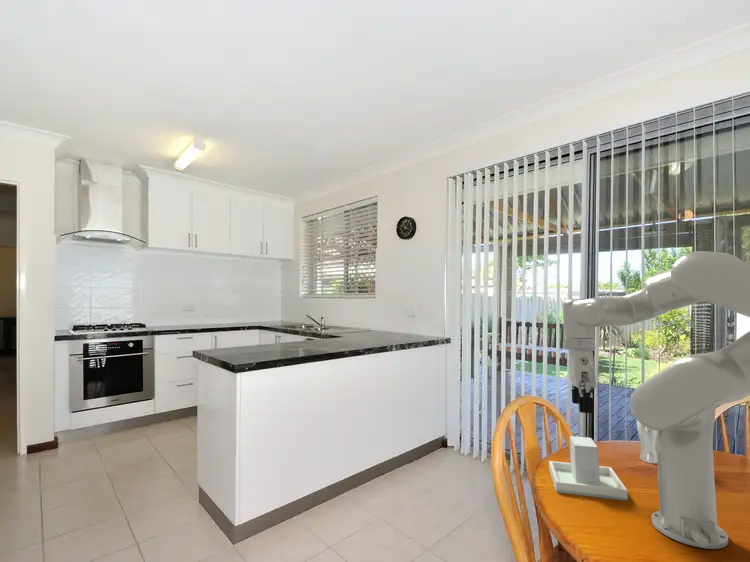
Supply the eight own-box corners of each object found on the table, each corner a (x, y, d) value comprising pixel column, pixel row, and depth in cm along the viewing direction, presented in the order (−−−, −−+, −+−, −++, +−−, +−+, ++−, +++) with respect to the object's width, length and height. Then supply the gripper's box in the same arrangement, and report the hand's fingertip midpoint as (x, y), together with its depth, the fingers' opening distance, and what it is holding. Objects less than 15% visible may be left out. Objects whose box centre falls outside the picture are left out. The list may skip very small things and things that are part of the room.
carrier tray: (627, 500, 95) (627, 490, 95) (556, 492, 99) (555, 482, 100) (611, 476, 108) (611, 467, 108) (549, 469, 113) (548, 460, 113)
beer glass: (671, 464, 115) (669, 413, 116) (648, 465, 115) (645, 413, 116) (655, 455, 122) (652, 407, 123) (633, 455, 122) (630, 407, 123)
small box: (600, 489, 99) (598, 447, 100) (576, 486, 101) (574, 445, 102) (593, 476, 107) (591, 437, 108) (570, 473, 109) (569, 435, 109)
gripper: (603, 347, 97) (606, 417, 96) (587, 341, 113) (590, 401, 112) (570, 347, 99) (573, 415, 98) (559, 341, 115) (561, 399, 114)
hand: (582, 407), depth 105 cm, fingers open, 9 cm apart
